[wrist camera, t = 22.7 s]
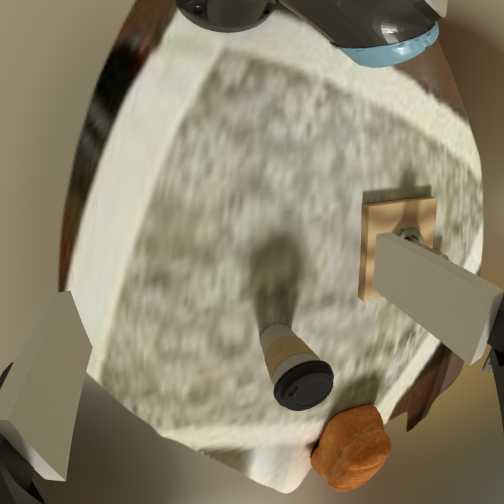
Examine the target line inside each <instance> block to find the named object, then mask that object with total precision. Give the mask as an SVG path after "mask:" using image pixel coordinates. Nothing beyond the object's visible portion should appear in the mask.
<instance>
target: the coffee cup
mask: <svg viewBox="0 0 504 504" xmlns="http://www.w3.org/2000/svg"><path fill="white" fill-rule="evenodd" d="M260 343H261V347H262V350H263V353H264V356H265V363H266V366H267V369H268V372H269V375H270V378H271V382H272V384H273V386H274V397H275V399H276V400H277V401H278V403H279V404H280V405H282V406H284V407H286V408H288V409H290V410H293V411H302V410H307V409H310V408H312V407H314V406H316V405H318V404H319V403H321V402H322V401H323V400H324V399H325V398H326V397H327V396H328V395H329V394H330V392H331V390H332V388H333V379H334V375H333V371H332V369H331V367H330V365H329V364H328V363H326V362H324V361H320V359H319V358H318V356H317V355H316V354H315V353H314V352H313V351H312V350H311V349H310V348H309V347H308V346H307V345H306V344H305V343H304V342H303V341H302V340H301V339H300V338H298V337H297V336H296V334H295V333H294V332H293V331H292V330H291V329H290V328H289V327H288V326H286V325H284V324H273V325H270V326H269V327H267V328H266V329H265V330H264V331H263V333H262V335H261V338H260Z"/></svg>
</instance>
